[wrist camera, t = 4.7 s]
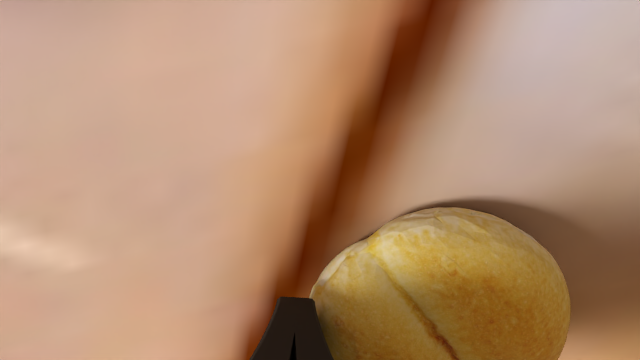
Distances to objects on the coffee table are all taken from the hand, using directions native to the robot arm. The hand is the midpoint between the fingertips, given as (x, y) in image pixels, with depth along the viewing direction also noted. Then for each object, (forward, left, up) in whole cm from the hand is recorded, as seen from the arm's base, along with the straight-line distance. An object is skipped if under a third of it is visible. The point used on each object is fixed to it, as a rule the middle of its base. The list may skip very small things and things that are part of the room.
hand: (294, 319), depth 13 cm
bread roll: (0, -5, -2) cm, 6 cm away
